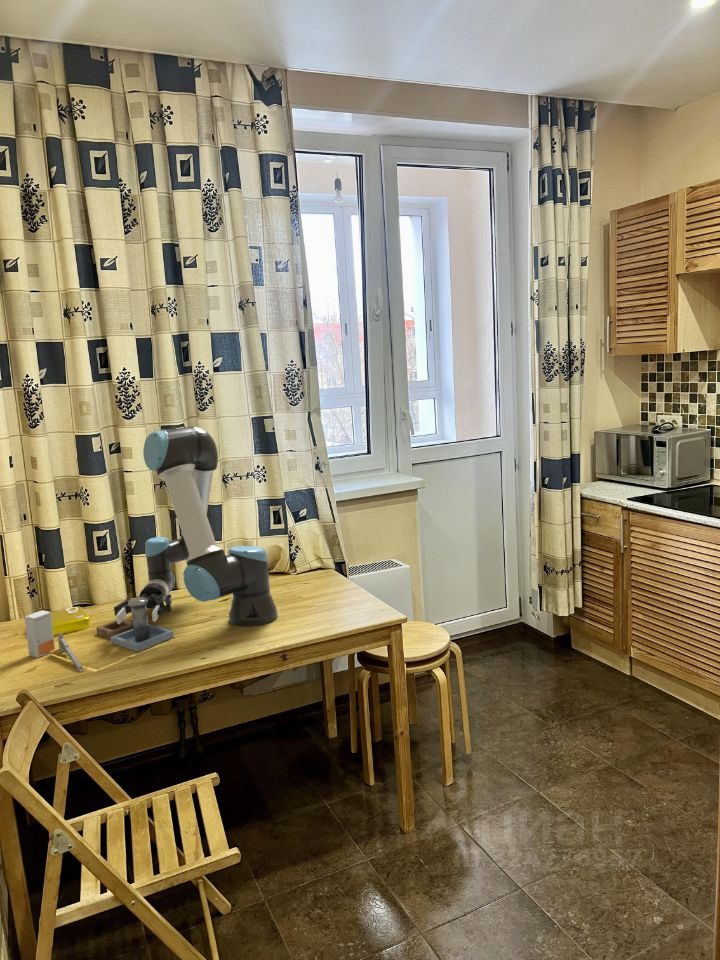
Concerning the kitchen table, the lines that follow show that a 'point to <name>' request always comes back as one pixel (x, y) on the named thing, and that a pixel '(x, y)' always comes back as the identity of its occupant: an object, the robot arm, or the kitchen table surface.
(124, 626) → the socket block
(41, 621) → the skincare box
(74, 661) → the caliper
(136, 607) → the blue-grey cylinder
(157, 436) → the robot arm
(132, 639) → the tray
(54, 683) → the kitchen table surface
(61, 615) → the element tile
